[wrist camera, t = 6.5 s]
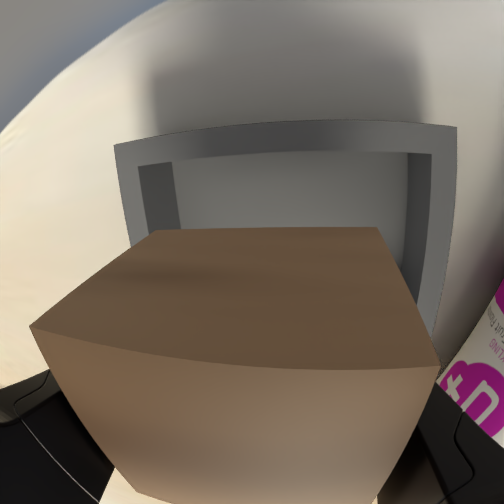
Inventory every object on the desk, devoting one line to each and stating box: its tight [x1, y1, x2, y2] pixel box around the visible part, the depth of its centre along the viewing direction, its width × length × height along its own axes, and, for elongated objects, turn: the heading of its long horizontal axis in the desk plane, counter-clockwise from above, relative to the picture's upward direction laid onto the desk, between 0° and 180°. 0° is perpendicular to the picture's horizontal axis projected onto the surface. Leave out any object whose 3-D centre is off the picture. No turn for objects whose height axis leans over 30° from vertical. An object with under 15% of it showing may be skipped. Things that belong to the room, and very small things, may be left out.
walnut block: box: [29, 227, 441, 504], centre depth 7 cm, size 6×6×5 cm
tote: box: [114, 120, 457, 339], centre depth 15 cm, size 11×15×4 cm
